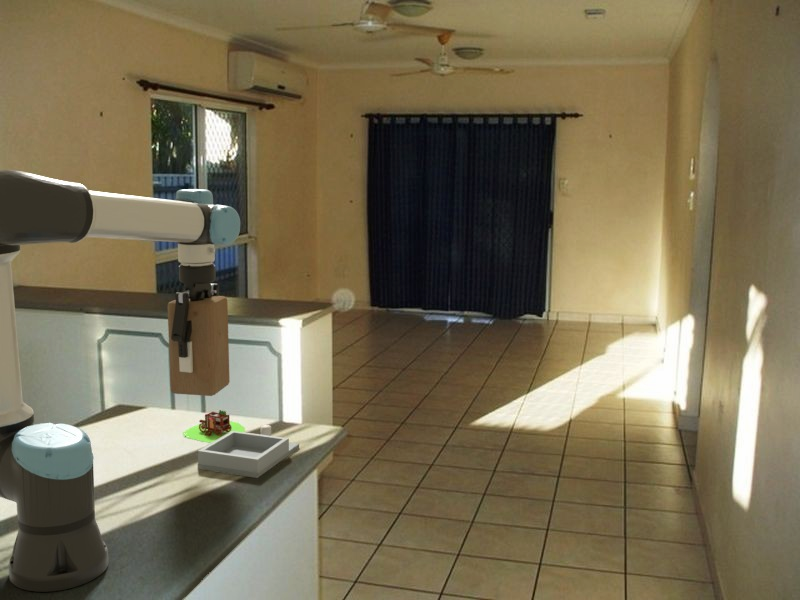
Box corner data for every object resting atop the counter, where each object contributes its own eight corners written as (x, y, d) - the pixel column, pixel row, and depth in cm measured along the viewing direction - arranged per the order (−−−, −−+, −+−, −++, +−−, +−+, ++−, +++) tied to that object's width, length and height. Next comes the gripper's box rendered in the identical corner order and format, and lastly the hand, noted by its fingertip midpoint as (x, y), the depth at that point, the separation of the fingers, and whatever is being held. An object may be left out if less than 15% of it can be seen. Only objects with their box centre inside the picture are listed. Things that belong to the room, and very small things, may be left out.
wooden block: (213, 397, 180) (211, 303, 177) (169, 394, 182) (165, 301, 179) (231, 384, 190) (228, 295, 186) (188, 382, 192) (185, 293, 188)
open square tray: (257, 478, 182) (257, 455, 181) (197, 468, 186) (197, 446, 185) (299, 447, 200) (298, 427, 199) (243, 440, 205) (243, 419, 204)
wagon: (222, 447, 201) (221, 422, 200) (173, 437, 208) (172, 412, 207) (261, 430, 214) (261, 406, 213) (214, 420, 221) (214, 397, 220)
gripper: (183, 271, 169) (186, 380, 173) (239, 257, 191) (241, 354, 195) (149, 269, 172) (154, 377, 175) (209, 255, 193) (212, 351, 197)
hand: (200, 365), depth 185 cm, fingers closed on wooden block, 10 cm apart
